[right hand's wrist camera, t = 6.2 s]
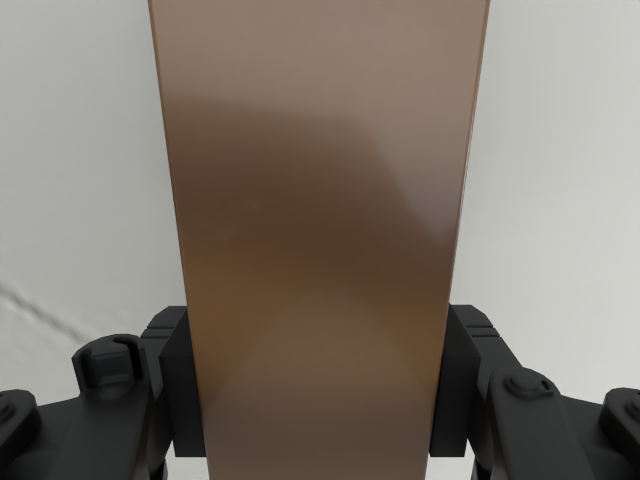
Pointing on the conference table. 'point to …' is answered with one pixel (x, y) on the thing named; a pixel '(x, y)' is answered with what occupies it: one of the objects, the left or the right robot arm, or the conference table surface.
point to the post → (318, 221)
